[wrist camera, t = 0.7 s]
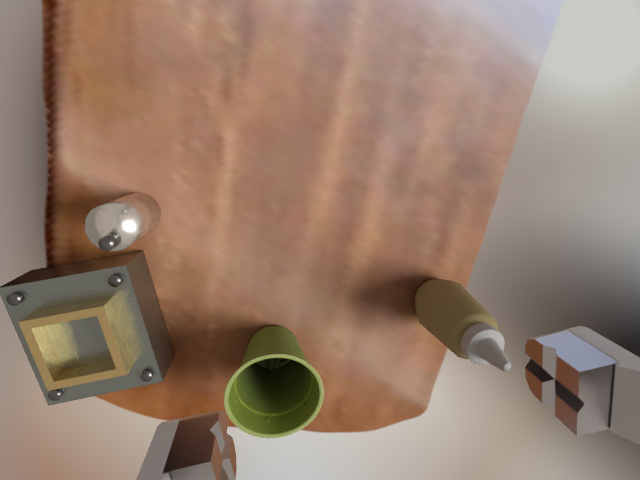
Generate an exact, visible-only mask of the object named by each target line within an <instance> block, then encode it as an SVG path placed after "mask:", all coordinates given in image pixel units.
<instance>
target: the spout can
mask: <svg viewBox="0 0 640 480" xmlns="http://www.w3.org/2000/svg"><path fill="white" fill-rule="evenodd" d="M160 217H161V211H160V207H159V205H158V203H157V202H156V201H155V200H154V199H153V198H152V197H151V196H149V195H147V194H144V193H132V194H129V195H127V196H124V197H121V198H119V199H116V200H113V201H111V202H108V203H105V204H103V205H100V206H97V207H95V208H94V209H92V210H91V211H90V212H89V213H88V215H87V217H86V219H85V231H86V234H87V236H88V238H89V239H90V241H91V242H92V243H93V244H94V245H96V246H97V247H99V248H101V249H102V250H104V251H119V250H123V249H125V248H127V247H128V246H129V245H131V244H132V243H133V242H135V241H136V240H137V239H139V238H140V237H142V236H143V235H144V234H146V233H147V232H148V231H150V230H151V229H152V228H154V227H155V226H156V225H157V224H158V222H159V220H160Z"/></svg>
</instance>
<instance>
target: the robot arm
mask: <svg viewBox="0 0 640 480" xmlns="http://www.w3.org/2000/svg"><path fill="white" fill-rule="evenodd" d="M525 354H526V355H527V356H528V357H529V358H530V361H529V362H528V364H527V365H526V367H525V374H526V380H527V383H528V385H529V388H530V390H531V391H532V393H533V394H534V396H535V397H536V398H537V399H538V400H539V401H540V402H541V403H543V404H545V405H548V406H550V407H552V408H554V410H555V416H556V417H557V418H558V419H559V420H560V421H561V422H562V423H563V424H564V425H566V427H567V428H569V429H570V430H571V431H572V432H573V433H574V434H575V435H576V436H580V435H584V434H589V433H593V432H598V431H602V430H607V429H610V431H612V432H614V433H616V434H618V435H620V436H622V437H624V438H627V439H628V440H631V441H633V442H635V443H637V444H639V445H640V358H639V357H637V356H636V355H634V354H632V353H631V352H629V351H627V350H625V349H624V348H622V347H620V346H618V345H617V344H615V343H613V342H611V341H610V340H608V339H606V338H604V337H602V336H601V335H599V334H598V333H596V332H594V331H592V330H591V329H589V328H587V327H582V326H579V327H574V328H571V329H567V330H563V331H561V332H557V333H553V334H549V335H544V336H540V337H536V338H532V339H528V340H527V342H526V344H525ZM227 426H228V421H227V418H226V415H225V412H224V411H223V410H217V411H213V412H208V413H203V414H198V415H193V416H188V417H184V418H182V419H181V418H180V419H175V420H171V421H166V422H162V423H161V424H160V425H159V426H158V427H157V429H156V432H155V434H154V437H153V440H152V442H151V445H150V447H149V449H148V452H147V454H146V457H145V459H144V462H143V465H142V467H141V470H140V472H139V475H138V477H137V480H235V479H236V453H235V447H234V442H233V439H232V437H231V436H230V435H228V434H227Z"/></svg>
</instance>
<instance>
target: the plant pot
mask: <svg viewBox="0 0 640 480" xmlns="http://www.w3.org/2000/svg"><path fill="white" fill-rule="evenodd" d="M283 358H287V359H286V360H285V361H281V359H283ZM261 360H264V362H262V361H261ZM276 362H277V367H276ZM323 397H324V389H323V384H322V380H321V378H320V376H319V374H318V373H317V371H316V370H315V369H314V368H313V367H312V366H311V365H310V364H309V363H308V362H307V361H306V359H305V357H304V354H303V352H302V350H301V348H300V346H299V344H298V342H297V339H296V337H295V336H294V334H293V333H292V332H291V331H290V330H288V329H286V328H284V327H282V326H267V327H264V328H262V329H260V330H259V331H257V332H256V333H255V334H254V335H253V337H252V338H251V340H250V342H249V345H248V347H247V350H246V353H245V355H244V358H243V360H242V363H241V365H240V367H239V368H238V369H237V370H236V371H235V373H234V374H233V375H232V376H231V378H230V380H229V382H228V384H227V386H226V389H225V393H224V406H225V410H226V413H227V415H228V417H229V418H230V420H231V421H232V422H233V424H234V425H235V426H237V427H238V428H239V429H241V430H242V431H244V432H245V433H248V434H251V435H253V436H257V437H262V438H278V437H283V436H287V435H290V434H293V433H295V432H297V431H299V430H301V429H302V428H304V427H305V426H307V425H308V424H309V423H310V422H311V421H312V420H313V419H314V418H315V416H316V415H317V414H318V412H319V410H320V408H321V405H322V402H323Z"/></svg>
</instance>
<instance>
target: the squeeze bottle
mask: <svg viewBox="0 0 640 480" xmlns="http://www.w3.org/2000/svg"><path fill="white" fill-rule="evenodd" d="M415 307H416V314H417V317H418V319H419V322H420V324H422V325H423V326H424V327H425V328H426V329H427V330H428V331H429V332H430V333H432V334H433V335H434V336H435V337H436V338H437V339H438V340H440V341H441V342H442V343H443V344H444V345H445V346H446V347H448V348H449V349H450V350H451V351H452V352H453V353H454V354H456V355H457V356H458V357H461V358H464V359H470V360H471V361H472V362H473V363H475V364H479V365H484V364H489V363H490V364H492V365H494V366H496V367H497V368H499V369H501V370H502V371H508V370H509V369H510V368H511V363H510V361H509V360H508V358H507V357H506V355H505V354H504V352H503V350H504V343H505V342H504V338H503V336H502V335H501V334H500V333H499V332H498V329H499V328H498V325H497V322H496V320H495V319H494V318H493V317H492V316H491V315H490V314H489V313H488V312H487V311H486V310H485V309H484V308H483V307H482V306H481V305H480V304H479V303H478V302H477V301H476V300H475V299H474V298H473V297H472V296H471V295H470V294H469V292H467V290H466V289H465V288H464V287H463V286H462V285H461V284H459V283H456V282H453V281H449V280H440V279H434V280H429V281H427V282H425V283H423V284H422V285H421V286H420V287H419V288H418V290H417V292H416V294H415Z"/></svg>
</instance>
